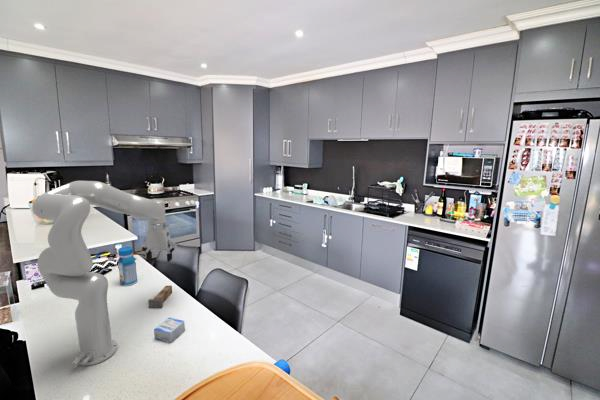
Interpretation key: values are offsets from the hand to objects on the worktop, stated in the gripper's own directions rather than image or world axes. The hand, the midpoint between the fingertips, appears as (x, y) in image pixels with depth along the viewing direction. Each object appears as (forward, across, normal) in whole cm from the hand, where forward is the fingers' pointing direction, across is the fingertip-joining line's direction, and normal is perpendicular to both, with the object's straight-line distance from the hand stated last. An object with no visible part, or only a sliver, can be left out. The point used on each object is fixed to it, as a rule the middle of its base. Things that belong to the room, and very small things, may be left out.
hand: (159, 260), depth 139 cm
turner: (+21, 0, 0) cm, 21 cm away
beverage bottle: (+21, +27, -17) cm, 38 cm away
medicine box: (+19, -17, +21) cm, 33 cm away
